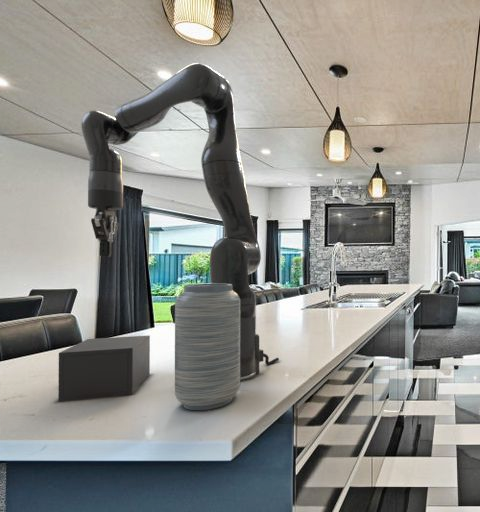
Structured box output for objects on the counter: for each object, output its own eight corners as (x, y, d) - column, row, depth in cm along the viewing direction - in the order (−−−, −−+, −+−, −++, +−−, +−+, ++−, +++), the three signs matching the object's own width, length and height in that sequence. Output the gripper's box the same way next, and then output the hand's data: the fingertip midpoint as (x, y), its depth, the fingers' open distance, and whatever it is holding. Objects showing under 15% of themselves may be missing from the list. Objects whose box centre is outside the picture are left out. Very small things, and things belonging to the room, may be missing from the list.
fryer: (87, 380, 90) (87, 338, 90) (149, 375, 94) (149, 335, 94) (58, 401, 76) (58, 352, 76) (132, 394, 80) (132, 347, 80)
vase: (210, 417, 68) (210, 286, 68) (159, 409, 72) (160, 285, 72) (252, 395, 79) (252, 283, 79) (206, 389, 83) (207, 282, 83)
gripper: (114, 186, 97) (113, 256, 96) (129, 195, 109) (129, 256, 109) (78, 185, 94) (77, 256, 94) (98, 194, 107) (97, 256, 106)
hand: (105, 256), depth 101 cm, fingers closed
